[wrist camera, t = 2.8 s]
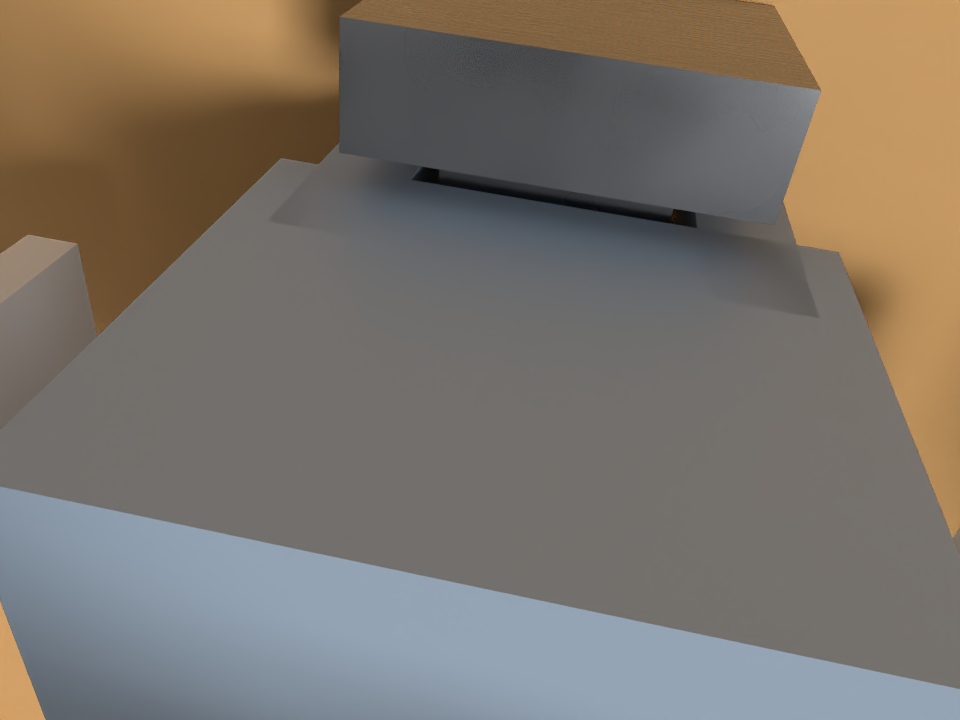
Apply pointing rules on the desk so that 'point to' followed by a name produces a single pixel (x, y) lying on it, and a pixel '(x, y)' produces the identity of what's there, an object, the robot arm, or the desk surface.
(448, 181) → the rail
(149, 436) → the block
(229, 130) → the desk surface
